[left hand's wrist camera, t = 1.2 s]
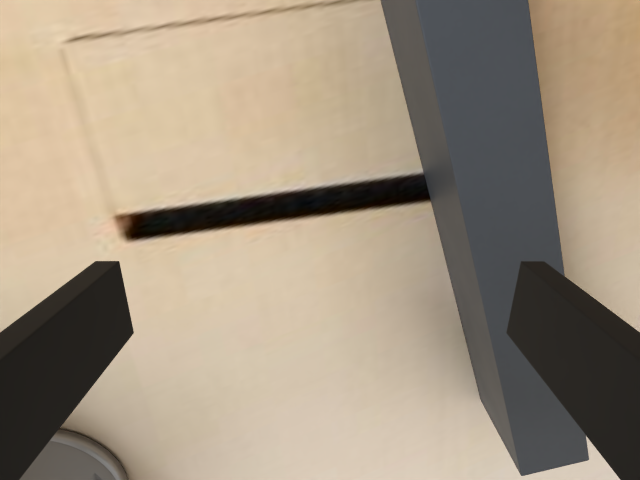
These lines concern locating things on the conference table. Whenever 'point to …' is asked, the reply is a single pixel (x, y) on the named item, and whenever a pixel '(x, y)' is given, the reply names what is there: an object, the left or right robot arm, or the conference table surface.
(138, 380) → the conference table surface
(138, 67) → the conference table surface
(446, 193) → the post
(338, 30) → the conference table surface
